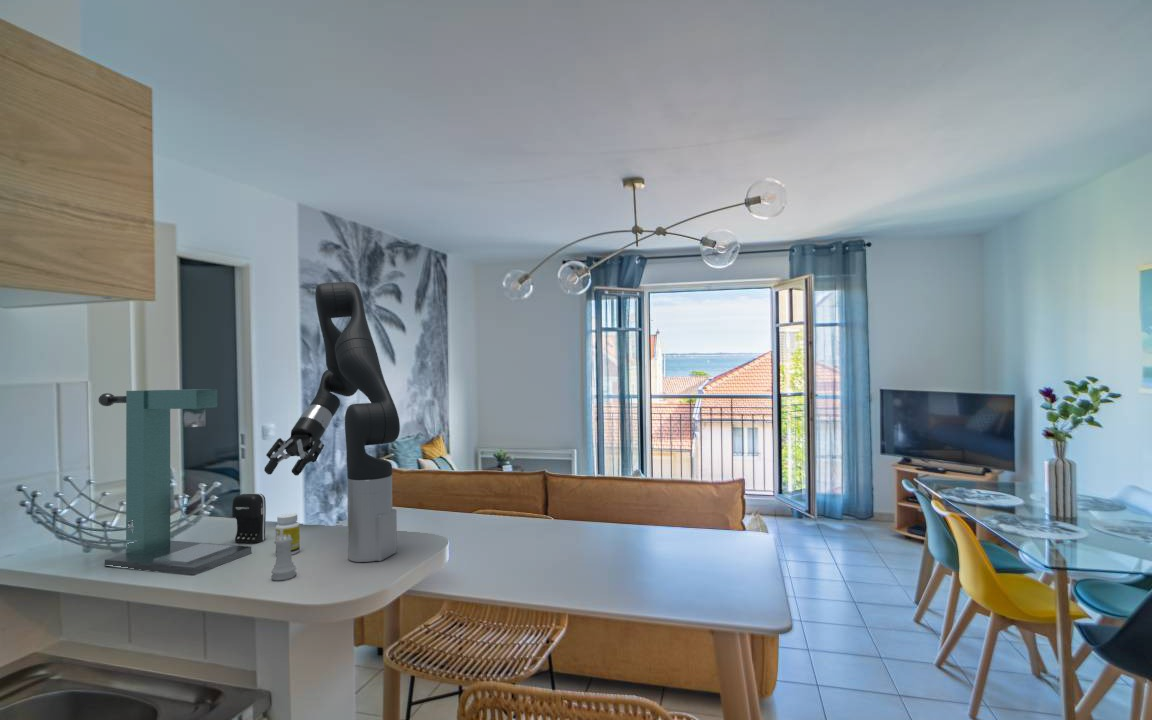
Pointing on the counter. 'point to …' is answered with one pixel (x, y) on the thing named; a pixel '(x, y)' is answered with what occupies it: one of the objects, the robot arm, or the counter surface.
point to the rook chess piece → (283, 560)
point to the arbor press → (161, 483)
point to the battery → (249, 517)
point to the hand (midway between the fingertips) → (280, 473)
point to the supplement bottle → (289, 530)
